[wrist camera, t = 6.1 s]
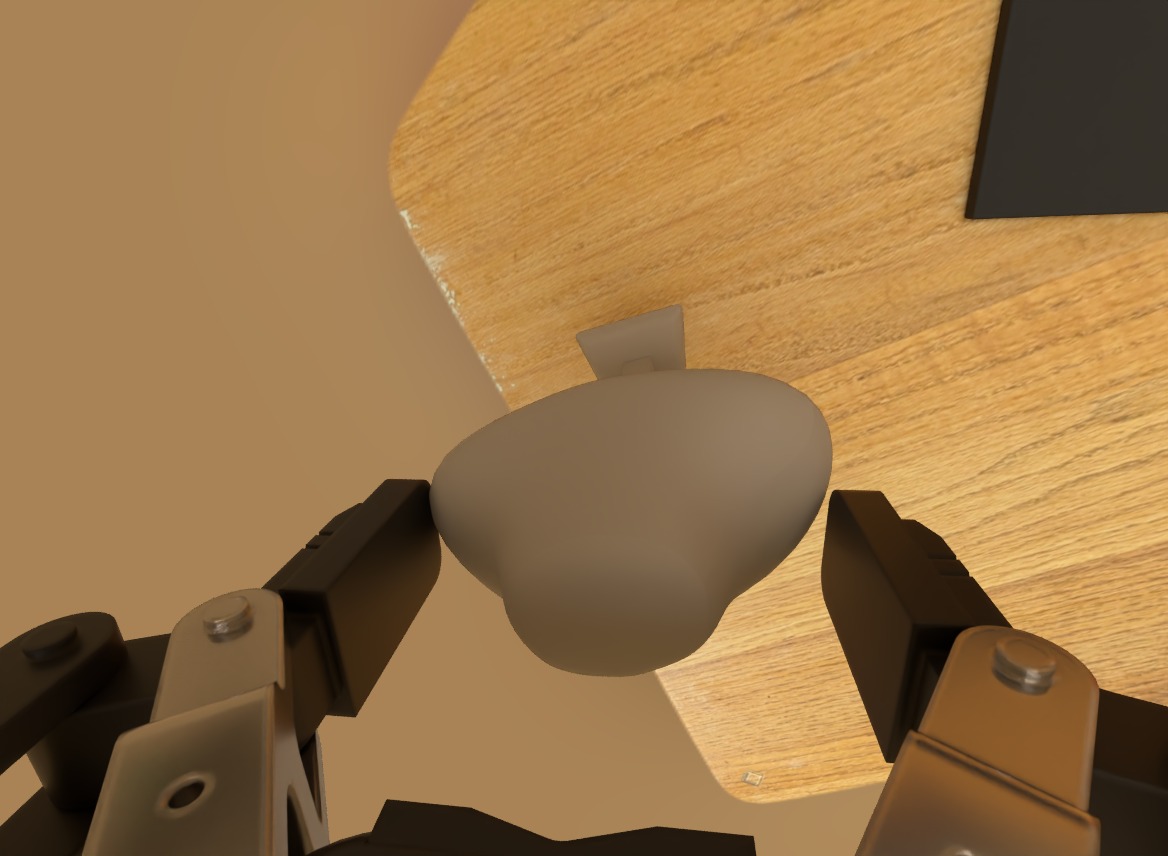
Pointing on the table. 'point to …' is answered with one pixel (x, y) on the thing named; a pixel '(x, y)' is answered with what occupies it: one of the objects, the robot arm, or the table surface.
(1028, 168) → the mat
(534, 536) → the grey rounded body
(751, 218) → the table surface
